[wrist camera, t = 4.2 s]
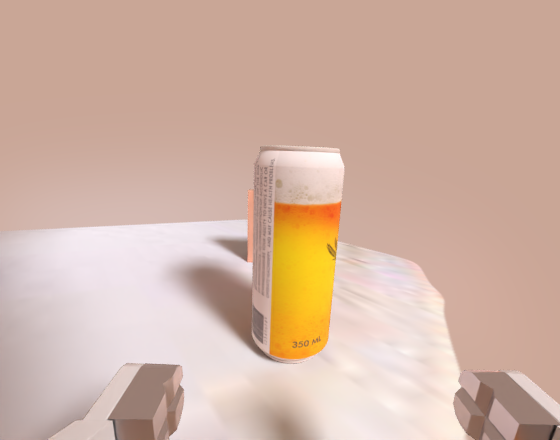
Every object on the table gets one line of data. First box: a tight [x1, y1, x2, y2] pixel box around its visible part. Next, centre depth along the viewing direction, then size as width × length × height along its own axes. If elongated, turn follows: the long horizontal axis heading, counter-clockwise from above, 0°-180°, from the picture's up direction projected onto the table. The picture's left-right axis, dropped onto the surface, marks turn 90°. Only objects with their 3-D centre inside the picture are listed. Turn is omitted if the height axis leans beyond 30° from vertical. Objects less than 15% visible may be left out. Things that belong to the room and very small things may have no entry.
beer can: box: [252, 146, 345, 364], centre depth 19 cm, size 6×6×15 cm
